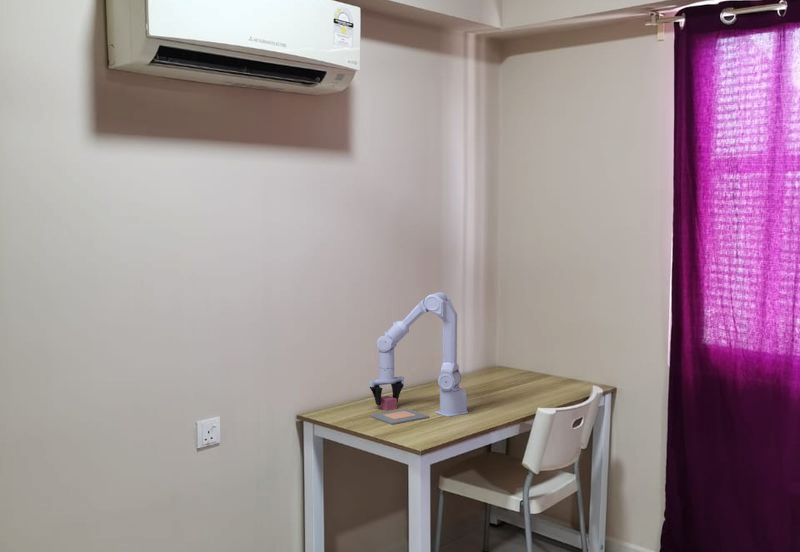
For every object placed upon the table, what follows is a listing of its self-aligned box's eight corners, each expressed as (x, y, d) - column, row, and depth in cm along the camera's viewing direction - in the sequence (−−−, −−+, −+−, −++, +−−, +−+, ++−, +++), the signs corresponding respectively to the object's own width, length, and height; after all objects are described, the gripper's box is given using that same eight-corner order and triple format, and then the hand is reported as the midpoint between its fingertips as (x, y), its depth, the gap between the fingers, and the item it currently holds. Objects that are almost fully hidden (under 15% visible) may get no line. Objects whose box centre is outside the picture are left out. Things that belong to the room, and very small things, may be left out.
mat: (406, 410, 295) (406, 407, 295) (429, 417, 284) (429, 415, 284) (370, 416, 286) (370, 414, 286) (392, 424, 275) (392, 422, 275)
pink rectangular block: (387, 406, 303) (387, 395, 302) (396, 409, 297) (396, 398, 297) (377, 407, 300) (377, 397, 300) (386, 411, 295) (386, 400, 295)
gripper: (396, 363, 305) (396, 398, 306) (364, 368, 297) (364, 404, 298) (407, 366, 299) (407, 402, 300) (374, 371, 291) (375, 407, 292)
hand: (386, 403), depth 299 cm, fingers open, 7 cm apart
